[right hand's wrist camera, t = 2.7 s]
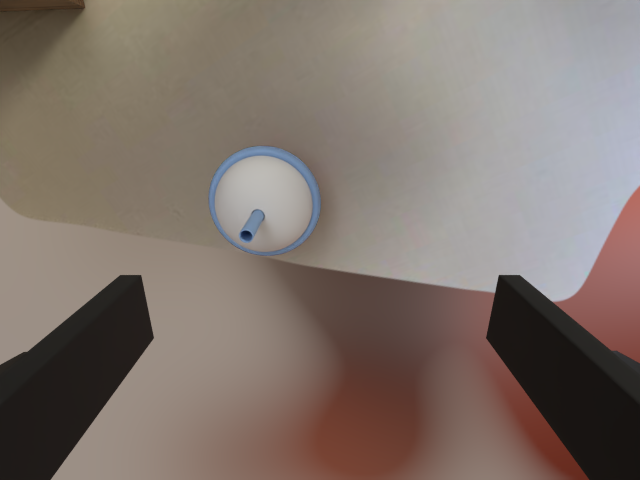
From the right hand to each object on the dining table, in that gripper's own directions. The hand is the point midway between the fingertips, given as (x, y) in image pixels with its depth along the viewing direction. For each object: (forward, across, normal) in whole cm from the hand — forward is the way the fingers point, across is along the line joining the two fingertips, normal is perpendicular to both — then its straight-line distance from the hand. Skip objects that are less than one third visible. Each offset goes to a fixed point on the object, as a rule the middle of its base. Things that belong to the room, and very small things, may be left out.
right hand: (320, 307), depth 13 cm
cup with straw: (+26, -4, 0) cm, 27 cm away
